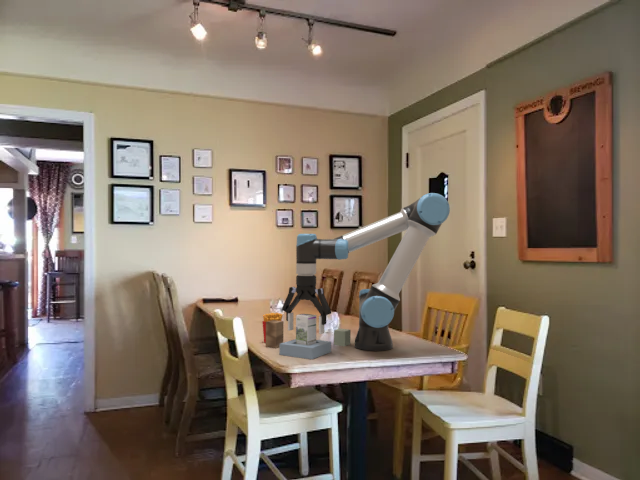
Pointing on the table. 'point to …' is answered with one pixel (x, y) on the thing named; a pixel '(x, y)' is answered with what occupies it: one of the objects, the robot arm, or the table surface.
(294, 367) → the table surface
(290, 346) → the hole block
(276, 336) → the walnut peg
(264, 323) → the french fries
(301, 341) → the syrup box
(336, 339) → the greygreen peg
